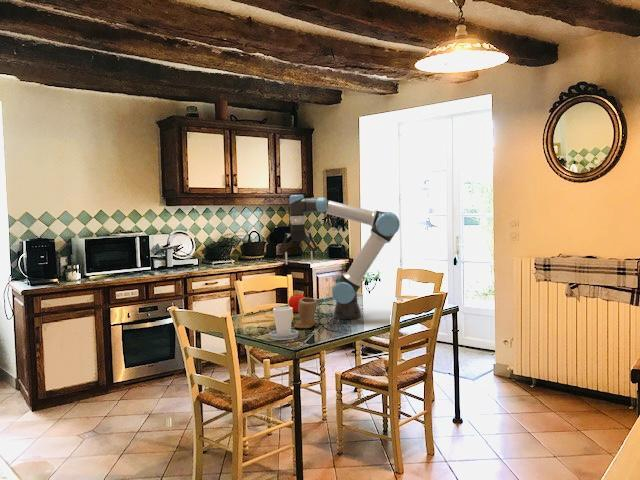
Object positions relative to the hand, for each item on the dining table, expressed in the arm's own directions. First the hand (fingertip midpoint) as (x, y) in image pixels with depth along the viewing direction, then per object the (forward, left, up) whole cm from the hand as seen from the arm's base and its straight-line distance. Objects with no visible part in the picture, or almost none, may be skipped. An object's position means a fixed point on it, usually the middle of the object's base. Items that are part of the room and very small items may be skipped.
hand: (299, 263), depth 302 cm
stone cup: (-3, +10, -32) cm, 34 cm away
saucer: (+8, +30, -32) cm, 44 cm away
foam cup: (+8, +30, -31) cm, 44 cm away
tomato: (+3, -30, -32) cm, 44 cm away
